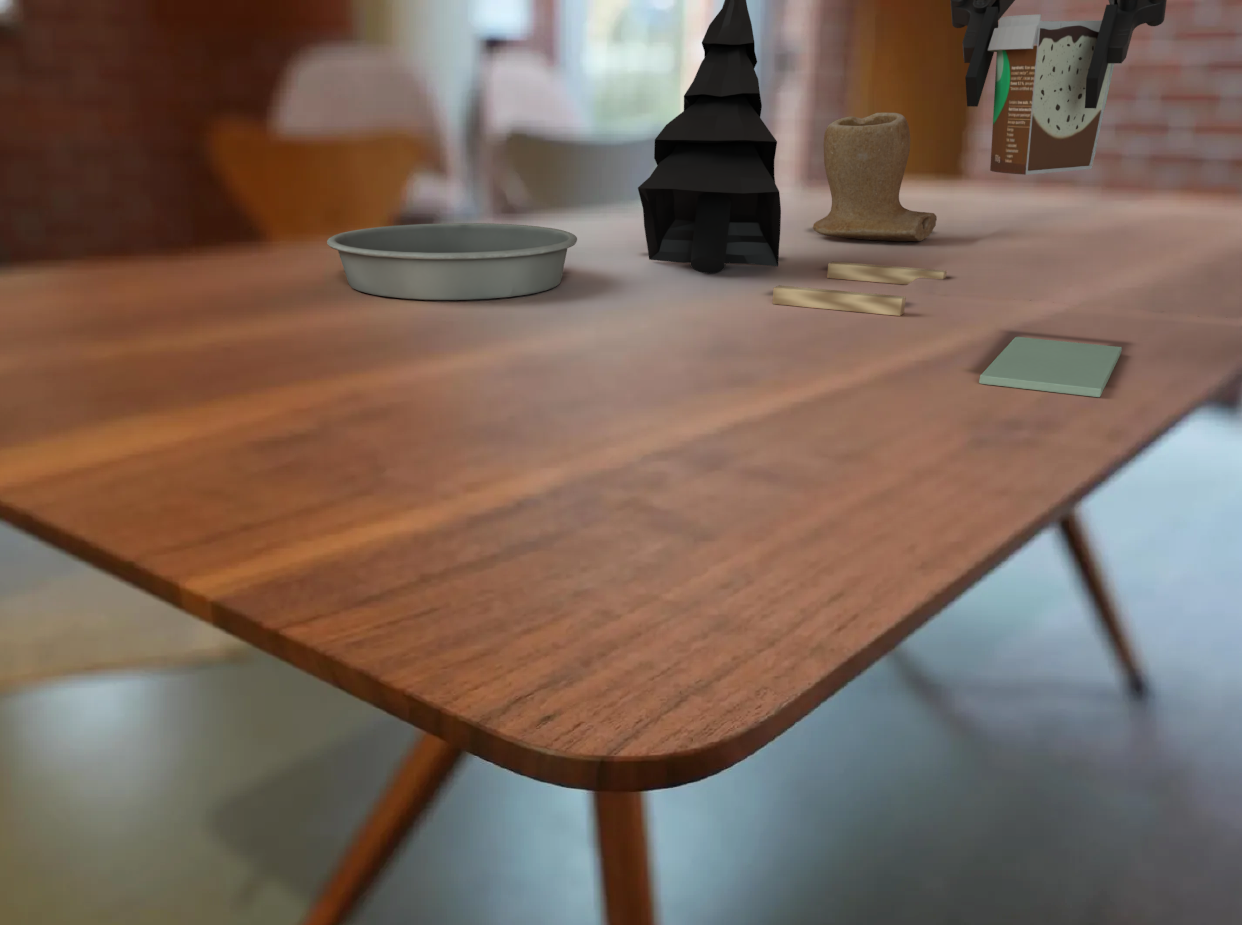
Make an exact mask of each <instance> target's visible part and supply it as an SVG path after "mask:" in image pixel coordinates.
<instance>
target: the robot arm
mask: <svg viewBox="0 0 1242 925" xmlns="http://www.w3.org/2000/svg"><path fill="white" fill-rule="evenodd" d="M1015 1H1016V0H950V11H951V12H950V13H951V14H950V15H951V25H952V27H953V28H955V29H962V28H965V27H966V26H967V27H966V30H965V33H964V37H963V39H962V54H963V55H962V57H963V63H964V64H968V68H967V71H966V74H965V95H966V107H973V108H975V107H976V108H977V107H978V106H979V104H980V99H981V97H982V93H983V90H984V87H985V84H986V80H987V77H988V74H989V71H990V68H991V64H992V60H993V57H994V54H995V52H990V51H988V48H989V44H990V41H991V38H992V35H993V32H994V29H995V28H998V25H999V21H1000V18H1002V17H1003V16H1004V15H1005V13H1006V12H1007V11H1008V10H1009V8H1010V7H1011V5H1013V3H1014V2H1015ZM1108 3H1109V4H1106V5H1105V8H1104V12H1103V16H1102V19H1101V20H1102V23H1101V26H1100V30H1099V34H1098V37H1097V41H1096V45H1095V48H1094V52H1093V56H1092V59H1091V63H1090V67H1089V70H1088V74H1087V78H1086V95H1085V108H1096V107H1097V103H1098V99H1099V96H1100V92H1101V88H1102V85H1103V81H1104V77H1105V73H1106V70H1107V66H1108V63H1114V64H1123V62H1124V61H1125V60H1126V59H1127V55H1128V51H1129V48H1130V44H1131V42H1132V41H1131V40H1132V36H1133V32H1134V31H1135V29H1136V28H1137V27H1138V26H1141V25H1144V24H1146V25H1147V26H1149V27H1158V26H1160V25H1162V24H1163V23H1164V22H1165V18H1166V11H1167V10H1166V8H1167V0H1108Z"/></svg>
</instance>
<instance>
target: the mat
mask: <svg viewBox="0 0 1242 925" xmlns="http://www.w3.org/2000/svg"><path fill="white" fill-rule="evenodd" d="M1122 349H1123V347H1122V346H1116V345H1115V346H1114V345H1104V344H1094V343H1085V342H1074V341H1064V340H1055V339H1043V338H1033V337H1025V336H1015V337H1014V338H1013V339H1012V340H1011V341H1010V343H1008V345H1007V346H1006V347H1005V348H1004V349H1003V350H1002V351H1001V352H1000V353H999V354H998V355H997V357H996V358H995V359H994V360H993V361H992V362H991V363H990V364H989V365H988V366H987V367H986V369H985V370H984V371H983V372H982V373H981V374H979V380H978V384H980V385H989V386H998V387H1006V388H1012V389H1022V390H1031V391H1039V392H1049V393H1057V394H1064V395H1065V394H1067V395H1075V396H1081V397H1082V396H1084V397H1093V398H1101V396H1102V394H1103V392H1104V390H1105V388H1106V385H1107V383H1108V382H1109V379H1110V377H1111V375H1112V374H1113V371H1114V369H1115V367H1116V365H1117V363H1118V361H1119V359H1120V356H1121V354H1122Z"/></svg>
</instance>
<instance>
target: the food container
mask: <svg viewBox="0 0 1242 925" xmlns="http://www.w3.org/2000/svg"><path fill="white" fill-rule="evenodd" d="M1101 23H1102V19H1101V20H1042V14H1041V13H1040V14H1039V13H1038V14H1022V15H1021V14H1020V15H1010V16H1002V17H1001V18H1000V19H999V20H998V28H995V29H994V32H993V35H992V38H991V41H990V44H989V48H988V51H990V52H994V53H996V60H995V76H994V77H995V79H994V96H993V98H994V99H993V114H992V115H993V116H992V130H991V132H992V133H991V148H990V150H991V151H990V165H989V166H990V167H989V170H990V172H993V173H1000V174H1007V175H1022V176H1023V175H1024V176H1027V175H1028V176H1029V175H1038V174H1049V173H1062V172H1072V171H1085V170H1093V166H1094V161H1095V157H1096V152H1097V147H1098V142H1099V138H1100V133H1101V128H1102V124H1103V120H1104V118H1103V117H1104V114H1105V110H1106V105H1107V99H1108V95H1109V92H1110V86H1111V82H1112V76H1113V72H1114V67H1115V63H1108V66H1107V70H1106V73H1105V77H1104V81H1103V85H1102V88H1101V92H1100V96H1099V99H1098V103H1097V107H1096V108H1085V95H1086V78H1087V74H1088V70H1089V67H1090V63H1091V59H1092V56H1093V52H1094V48H1095V45H1096V41H1097V37H1098V34H1099V30H1100V26H1101Z"/></svg>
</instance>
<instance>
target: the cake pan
mask: <svg viewBox="0 0 1242 925" xmlns="http://www.w3.org/2000/svg"><path fill="white" fill-rule="evenodd" d="M577 241H578V237H577V236H576V235H575V234H574V233H572V232H570V231H567V230H564V229H563V230H562V229H558V228H555V227H554V228H552V227H545V226H538V225H527V224H512V223H489V222H487V223H485V222H483V223H482V222H450V223H449V222H448V223H445V222H444V223H421V224H420V223H419V224H418V223H417V224H416V223H415V224H403V225H402V224H401V225H400V224H399V225H388V226H377V227H369V228H361V229H355V230H349V231H345V232H340V233H336V234H334V235H333V236H330V237H329V238H328V239H327V241H326V243H327V244H326V245H328V247H329V248H331V249H333V250H336V251H337V252H338V256H339V258H340V261H341V264H342V267H343V272H344V273H345V276H346V280H347V283H348V285H349V287H350V288H352V289H353V290H356V291H358V292H361V293H365V294H368V295H373V296H378V297H386V298H395V299H404V300H405V299H406V300H425V301H472V300H473V301H475V300H491V299H502V298H505V299H506V298H511V297H512V298H513V297H521V296H527V295H534V294H538V293H542V292H545V291H549V290H552V289H554V288H556V287H558V286H559V285H560V284H561V282H562V279H563V274H564V267H565V262H566V259H567V258H566V257H567V252H568V249H569V248H572V247H574V246H575V245H576V244H577Z"/></svg>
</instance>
